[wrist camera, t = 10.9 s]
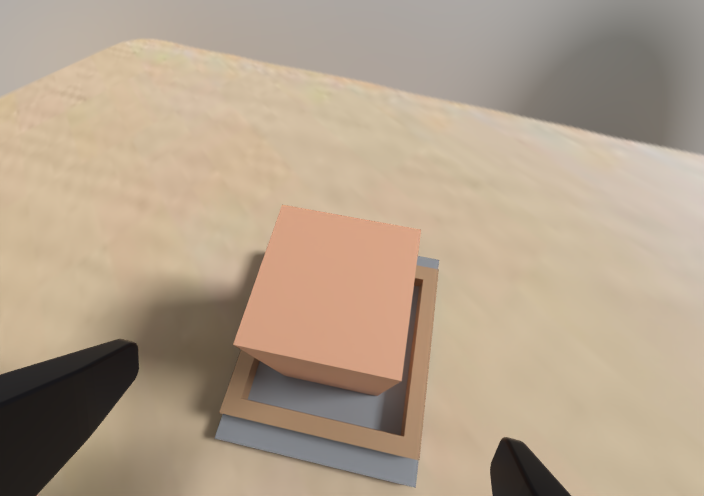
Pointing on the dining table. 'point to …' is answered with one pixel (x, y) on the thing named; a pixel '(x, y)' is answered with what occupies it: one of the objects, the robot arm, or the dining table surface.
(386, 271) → the pillar block
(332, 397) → the base board
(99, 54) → the dining table surface
